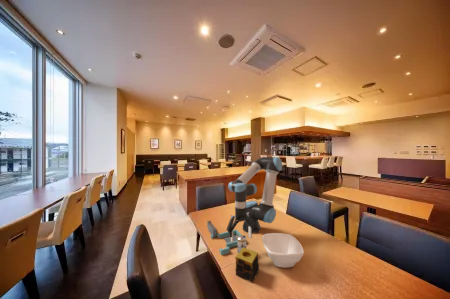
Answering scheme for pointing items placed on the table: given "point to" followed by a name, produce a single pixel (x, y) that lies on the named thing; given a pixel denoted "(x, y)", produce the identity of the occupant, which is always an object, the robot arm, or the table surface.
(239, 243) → the spigot
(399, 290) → the table surface
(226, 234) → the dock cradle
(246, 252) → the candle
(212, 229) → the lock pin
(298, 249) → the bowl
